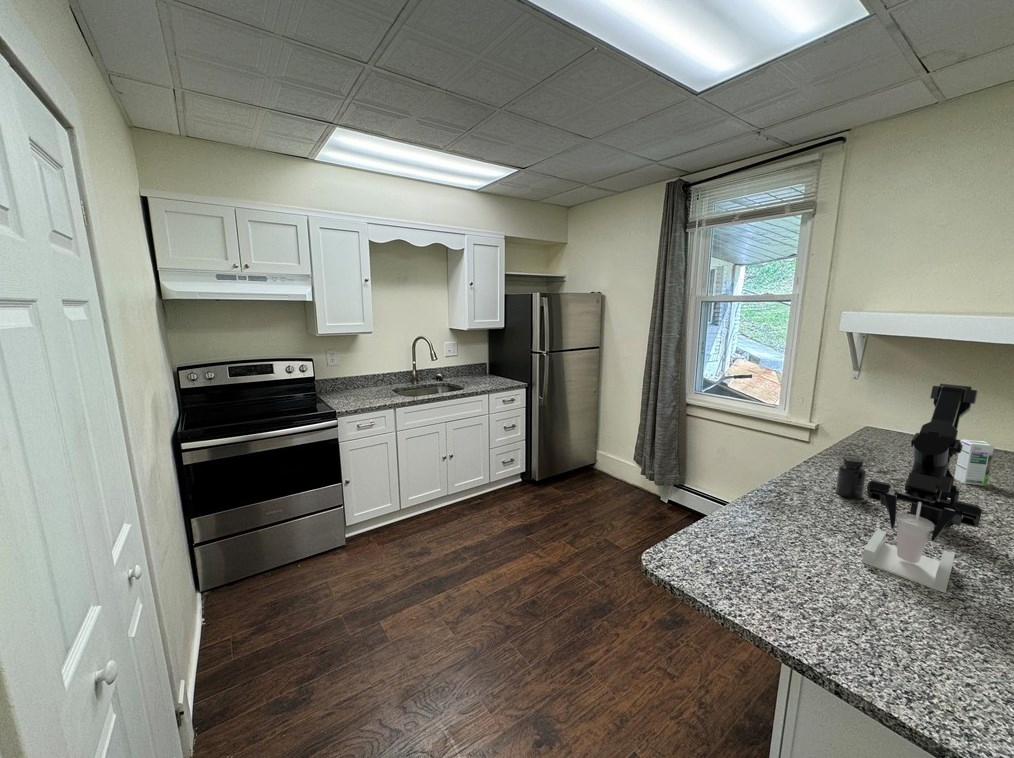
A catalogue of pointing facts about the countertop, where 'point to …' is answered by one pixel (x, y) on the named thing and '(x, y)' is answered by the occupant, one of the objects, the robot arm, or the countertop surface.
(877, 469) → the countertop surface
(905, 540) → the smoothie
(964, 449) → the syrup box
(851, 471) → the supplement bottle
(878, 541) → the sheet metal channel
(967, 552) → the countertop surface
